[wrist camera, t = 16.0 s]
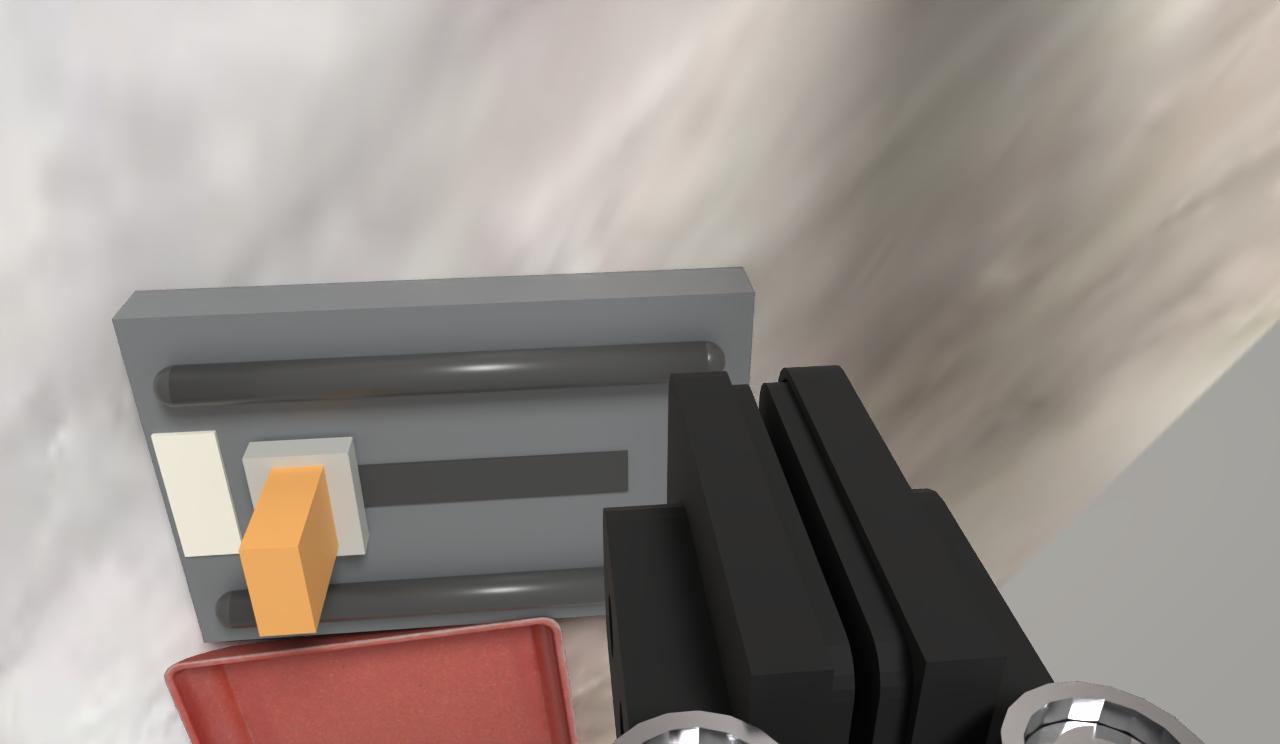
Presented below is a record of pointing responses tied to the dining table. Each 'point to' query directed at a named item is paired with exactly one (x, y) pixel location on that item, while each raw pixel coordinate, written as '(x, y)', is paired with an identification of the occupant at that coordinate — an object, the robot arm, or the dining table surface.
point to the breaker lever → (299, 527)
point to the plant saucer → (384, 688)
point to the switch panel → (429, 427)
